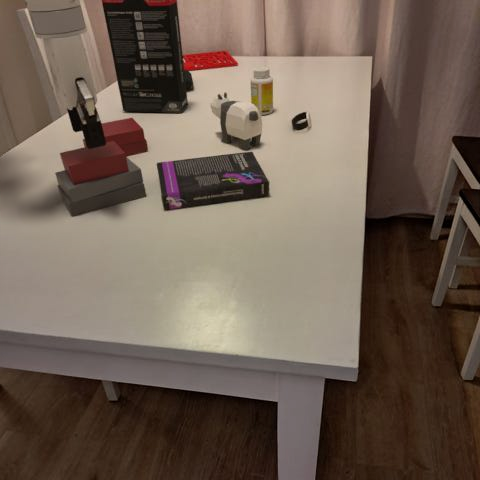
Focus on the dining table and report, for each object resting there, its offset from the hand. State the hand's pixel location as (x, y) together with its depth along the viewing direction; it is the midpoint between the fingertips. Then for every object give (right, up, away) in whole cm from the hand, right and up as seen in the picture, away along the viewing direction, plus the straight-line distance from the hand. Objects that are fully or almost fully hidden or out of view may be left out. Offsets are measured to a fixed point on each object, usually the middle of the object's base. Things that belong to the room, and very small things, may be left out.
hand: (89, 138), depth 81 cm
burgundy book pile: (-2, +7, +24) cm, 25 cm away
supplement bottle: (+32, +22, +40) cm, 56 cm away
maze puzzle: (+14, +60, +83) cm, 103 cm away
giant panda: (+25, +9, +25) cm, 37 cm away
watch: (+41, +14, +30) cm, 53 cm away
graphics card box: (+4, +25, +45) cm, 52 cm away
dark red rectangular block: (0, -4, +4) cm, 6 cm away
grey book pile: (0, -8, +7) cm, 11 cm away
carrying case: (+6, +40, +62) cm, 74 cm away
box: (+21, -6, +8) cm, 23 cm away
